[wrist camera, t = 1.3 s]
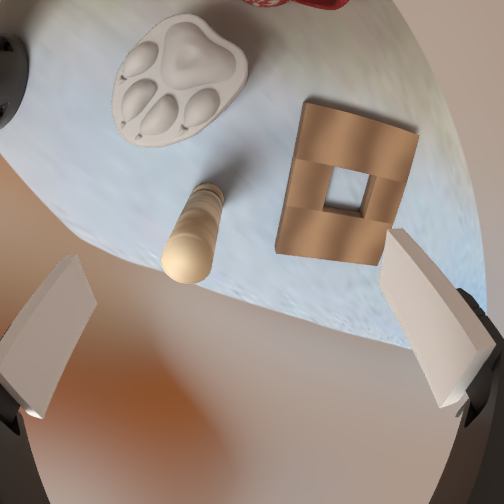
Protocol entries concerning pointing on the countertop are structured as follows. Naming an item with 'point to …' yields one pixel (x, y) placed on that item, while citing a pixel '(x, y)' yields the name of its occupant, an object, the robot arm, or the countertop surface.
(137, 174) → the countertop surface
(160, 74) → the lumpy-topped squat cylinder
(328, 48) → the countertop surface
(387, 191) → the seat board
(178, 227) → the leg
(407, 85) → the countertop surface
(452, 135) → the countertop surface
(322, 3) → the mug
